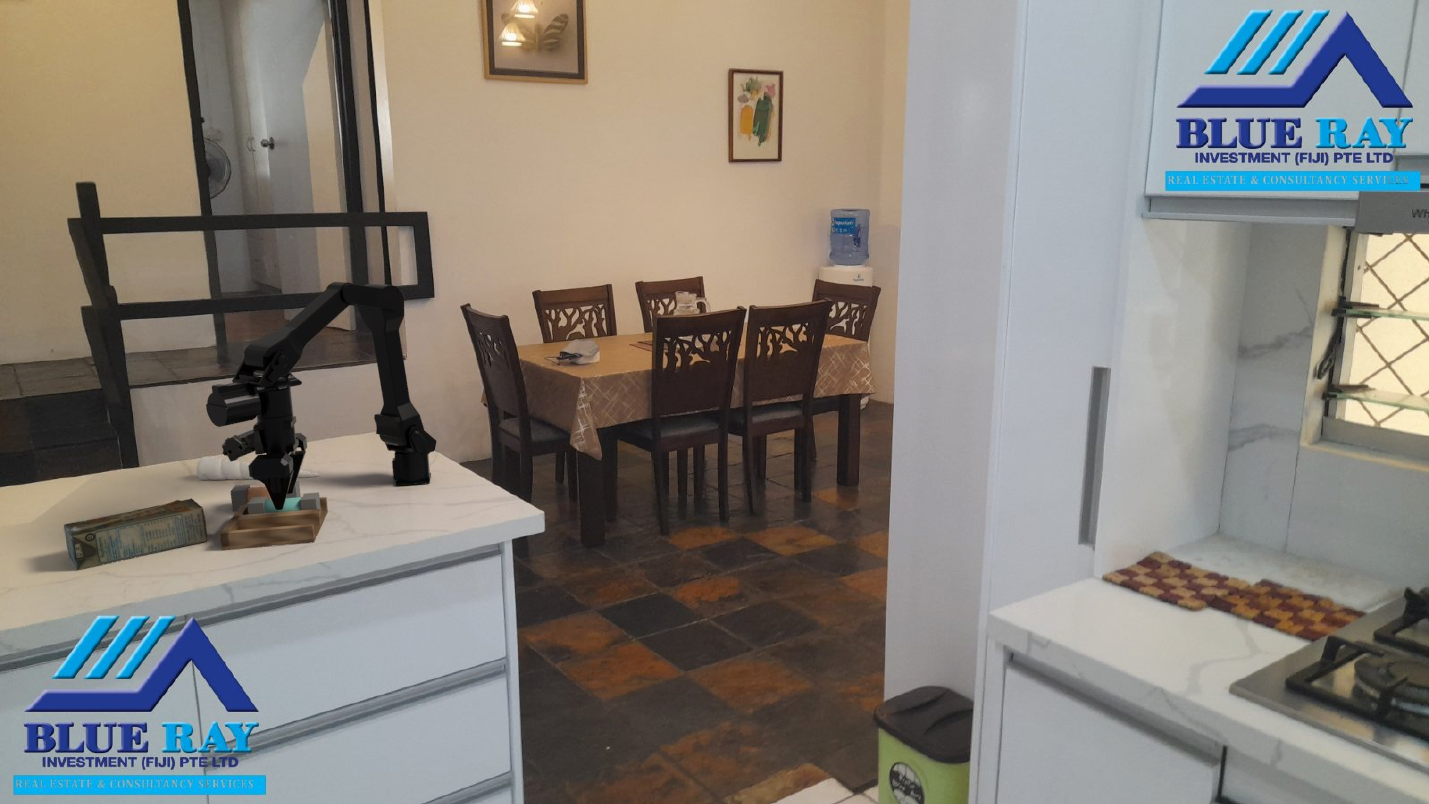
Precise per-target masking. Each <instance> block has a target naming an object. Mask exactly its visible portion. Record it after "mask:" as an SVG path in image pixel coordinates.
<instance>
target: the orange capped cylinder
mask: <svg viewBox="0 0 1429 804" xmlns="http://www.w3.org/2000/svg"><path fill="white" fill-rule="evenodd" d="M300 486H301V485H300V481H299V480H297V481H296V484H295V487H294V490H293V493H292V494H287V497H286V498H298V497H302V496H301V487H300ZM265 496H268V500H271V497H270V495H269V493H268V491H267V488H266V486H265V485H264V486H253V487H252V486H251V484H250V483H247V484H235V485H234V486H233V488H232V489H231V490H230V500H231V505H232V507H231V509H232V512H237V510H238V509H239V508H240V506H241V505H242V504H243V503H249V501H250V500H251V498H252V497H265Z"/></svg>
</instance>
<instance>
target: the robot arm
mask: <svg viewBox="0 0 1429 804" xmlns="http://www.w3.org/2000/svg"><path fill="white" fill-rule="evenodd" d="M349 306H353V307H358V311H359V313H360V316H361V319H362V320H363V322H364V323H365V325H366V327H367V328H368V329H369V331H370V332H371V334H372V341H373V345H374V353H375V359H376V365H377V370H378V377H379V381H380V382H379V383H380V389H381V394H382V395H381V397H382V401H383V403H382V404H383V405H382V408H381V410H380V412H379V413H376V414H374V417H373V419H374V422H375V425H376V426H375V427H376V431H375V434H376V435H379V438H380V440H381V441H382V442H383V443H384V444H385V447H386V448H387V451H390V452H391V451H392V452H394V453H393V454H394V457H393V458H392V461H391V464H392V477H393V481H395V486H397V487H398V486H399V487H401V486H410V485H414V486H415V485H425V484H427V485H428V484H430V483H431V479H432V472H431V471H430V470H431V469H430V456H429V455H430V454H431V453H433V452H435V451H436V446H437V440H436V439H435V437H433V436H432V435H430V434H429V433H428V432H427V431H426V430H425V428H424V424H423V421H422V418H421V414H420V412H419V411H418V410H417V408H416V407H415V405H414V404H413V403H412V401H411V398H410V391H409V387H408V386H409V385H408V380H407V379H408V378H407V373H406V367H405V359H404V353H403V347H402V341H401V334H400V328H401V326H402V322H403V320H404V318H405V296H404V293H403V291H402V290H401V289H400V288H399V287H397V286H396V285H393V284H382V283H380V284H379V283H378V284H377V283H367V284H364V285H359V284H354V283H352V282H349V281H348V282H346V281H333V282H331V283H329V284H328V285H327V286H326V288H325V290H324V291H322V292H321V293H320V294H319V295H318V296H317V297H316V298H314V299H313V300H312V301H311V302H309V304H308V305H307V306H305V307H304V308H303V309H302V310H301V311H300V312H299V313H298V314H296V315H295V316H294V317H293V318H292V319H291V320H290V321H289V322H287V323H286V324H285V325H284V326H282V327H280V328H279V329H276V330H275V331H272V332H269V333H267V334H264V335H262V336H261V337H259V338H257V339H256V340H254V341H253V342H251V343H250V344H248V346H247V347H246V348H245V349H244V351H243V354H244V355H243V359H242V361H241V363H240V365H239V367H238V369H237V371H236V373H235V374H234V376H233V378H232V380H231V381H232V382H230V383H224V384H221V383H219V384H213V385H212V386H211V393H210V394H209V395H208V398H207V400H206V402H207V403H206V404H205V407H206V413H207V416H208V417H209V420H210V421H211V423H212V424H213V425H214V426H216V427H218V428H221V427H225V426H230V425H235V424H240V423H244V422H250V421H253V420H255V419H256V422H255V424H254V425H253V427H252V429H251V430H250V429H249V430H247V431H245V432H243V433H240V434H238V435H237V434H233V436H231V437H226V438H225V440H224V442H223V443H222V444H221V448H222V450H223V451H222V455H223V456H226V457H227V458H228V460H230V461H231V462H232V461H235V460H236V461H238V459H239V458H241V457H244V456H246V455H249V454H251V453H254V452H255V453H254V454H255V455H256V457H254V458H253V460H252V461H251V462H250V465H249V466H248V467H249V475H250V477H253V479H252V480H255V481H259V482H260V483H262V484H263V485H264V486H266V488H267V491H268V493H269V495H270V497H271V500H272V502H273V504H274V507H275V509H276V510H282V509H283V507H284V504H285V500H286V497H287V494H292V493H293V490H294V487H295V484H296V481H298V478H297V477H298V474H299V471H300V470H301V467H302V465H303V462H304V458H305V456H306V453H307V451H306V450H307V448H308V441H307V436H305V435H304V434H303V433H301V432H296V429H295V428H296V427H295V425H296V423H297V416H294V411H293V409H294V408H293V400H292V399H293V398H292V391H291V388H292V387H296V386H297V387H298V386H301V385H303V382H302V380H301V379H300V378H297V377H296V376H294V374H293V373H292V370H293V369H294V368H295V367H296V365H297V364H298V363H299V362H300V360H301V359H302V356H303V352H304V349H305V348H306V347H307V345H308V344H309V343H310V342H311V341H312V340H313V339H315V338H316V337H317V336H318V335H319V334H320V333H321V332H322V331H323V330H324V329H325V328H327V326H329V325H330V324H331V323H332V322H333V321H334V320H335V319H336V318H337V317H339V315H341V314H342V313H343V312H344V311H345V310H346V309H347V308H349ZM298 448H300V449H301V450H298Z"/></svg>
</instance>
